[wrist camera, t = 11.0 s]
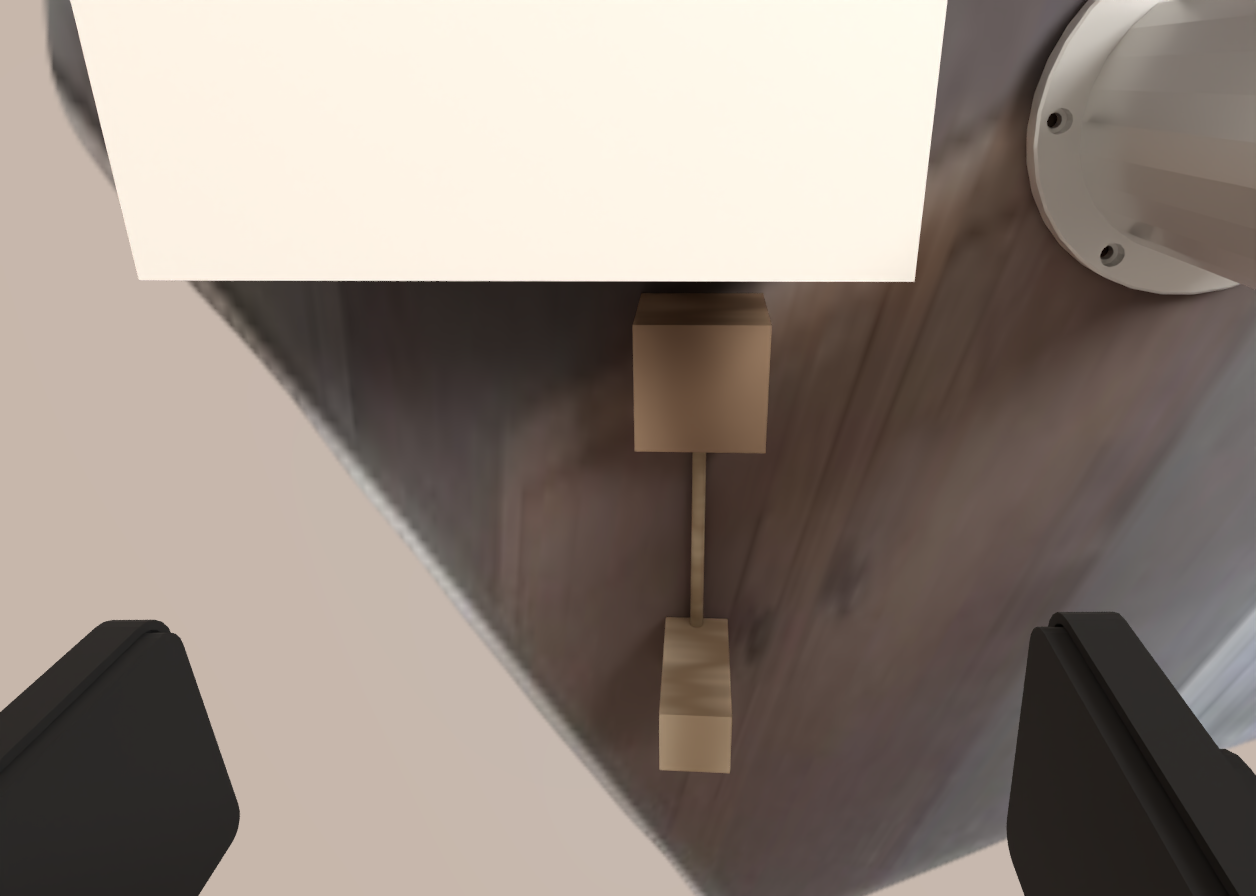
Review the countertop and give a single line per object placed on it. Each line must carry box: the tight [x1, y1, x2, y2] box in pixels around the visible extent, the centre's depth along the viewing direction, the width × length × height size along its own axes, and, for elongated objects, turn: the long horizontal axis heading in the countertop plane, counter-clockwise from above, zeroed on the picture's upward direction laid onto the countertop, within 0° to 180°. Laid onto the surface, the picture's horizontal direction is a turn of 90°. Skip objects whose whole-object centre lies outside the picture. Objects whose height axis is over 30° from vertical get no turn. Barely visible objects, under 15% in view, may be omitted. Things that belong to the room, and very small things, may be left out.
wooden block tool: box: [633, 293, 772, 773], centre depth 36 cm, size 5×19×7 cm, turn 1°
